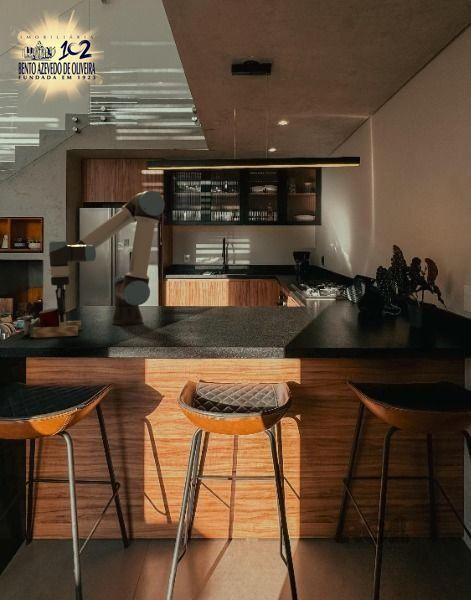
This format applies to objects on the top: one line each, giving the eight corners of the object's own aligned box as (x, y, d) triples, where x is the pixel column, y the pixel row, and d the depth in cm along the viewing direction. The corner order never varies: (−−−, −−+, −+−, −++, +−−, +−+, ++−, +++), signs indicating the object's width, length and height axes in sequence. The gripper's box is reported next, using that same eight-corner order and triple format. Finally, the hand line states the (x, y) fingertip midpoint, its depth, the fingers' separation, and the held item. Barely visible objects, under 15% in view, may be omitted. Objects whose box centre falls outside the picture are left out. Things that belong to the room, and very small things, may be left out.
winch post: (34, 333, 219) (33, 315, 218) (33, 335, 215) (32, 317, 214) (24, 333, 218) (23, 316, 217) (22, 335, 214) (21, 317, 213)
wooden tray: (81, 329, 229) (80, 316, 228) (77, 335, 213) (77, 321, 212) (37, 331, 225) (36, 318, 224) (30, 337, 209) (29, 323, 208)
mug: (54, 335, 213) (47, 313, 211) (37, 337, 215) (31, 315, 213) (66, 328, 223) (61, 307, 221) (51, 330, 225) (45, 309, 223)
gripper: (52, 275, 222) (56, 327, 225) (48, 277, 210) (51, 331, 212) (70, 274, 224) (73, 326, 226) (67, 276, 211) (70, 330, 214)
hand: (62, 328), depth 219 cm, fingers closed
